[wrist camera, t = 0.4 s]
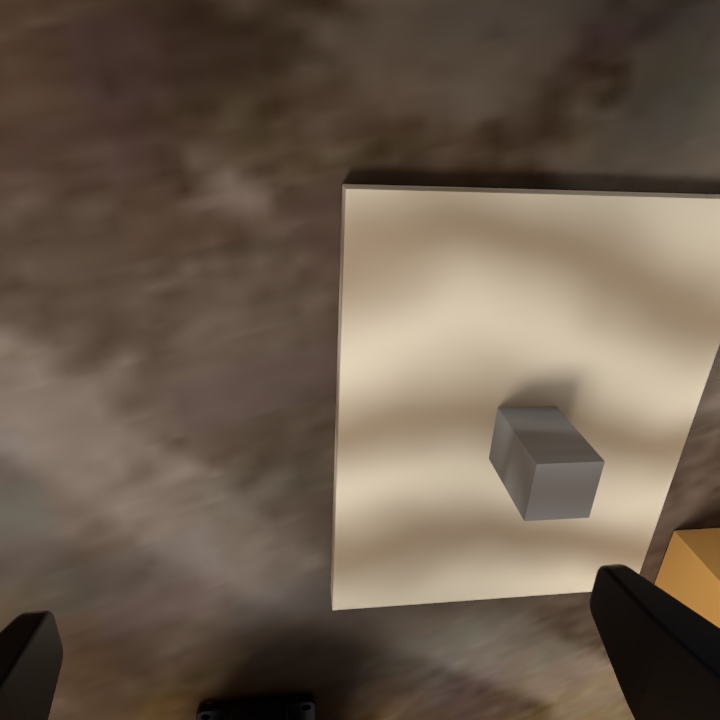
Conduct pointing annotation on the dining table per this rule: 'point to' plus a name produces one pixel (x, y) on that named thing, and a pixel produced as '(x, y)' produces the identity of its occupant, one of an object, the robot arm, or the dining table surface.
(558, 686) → the dining table surface
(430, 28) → the dining table surface
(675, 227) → the board
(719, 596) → the block
